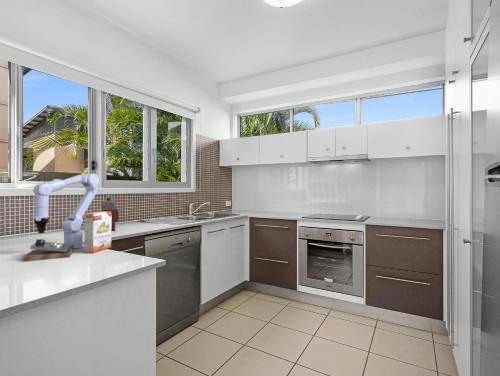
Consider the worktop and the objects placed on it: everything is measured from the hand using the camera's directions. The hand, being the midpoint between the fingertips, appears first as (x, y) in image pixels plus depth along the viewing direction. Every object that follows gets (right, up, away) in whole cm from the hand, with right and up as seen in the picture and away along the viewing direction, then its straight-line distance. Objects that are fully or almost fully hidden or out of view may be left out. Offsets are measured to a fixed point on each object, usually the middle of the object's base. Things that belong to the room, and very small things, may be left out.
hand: (41, 233), depth 143 cm
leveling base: (+8, -11, -4) cm, 14 cm away
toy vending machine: (+1, -10, +69) cm, 70 cm away
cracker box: (+26, -11, +8) cm, 29 cm away
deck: (+9, -7, -4) cm, 12 cm away
